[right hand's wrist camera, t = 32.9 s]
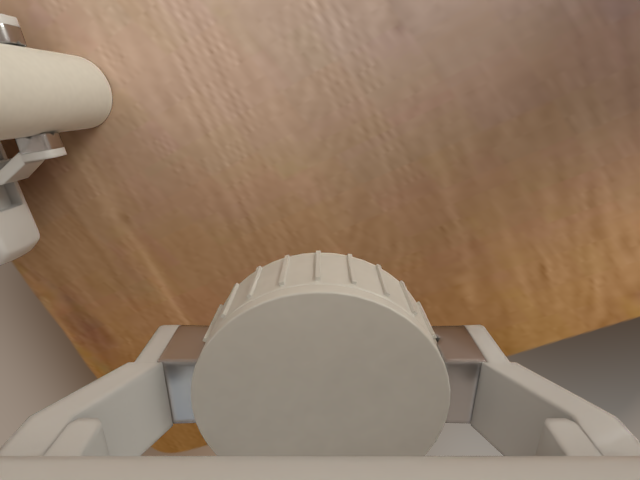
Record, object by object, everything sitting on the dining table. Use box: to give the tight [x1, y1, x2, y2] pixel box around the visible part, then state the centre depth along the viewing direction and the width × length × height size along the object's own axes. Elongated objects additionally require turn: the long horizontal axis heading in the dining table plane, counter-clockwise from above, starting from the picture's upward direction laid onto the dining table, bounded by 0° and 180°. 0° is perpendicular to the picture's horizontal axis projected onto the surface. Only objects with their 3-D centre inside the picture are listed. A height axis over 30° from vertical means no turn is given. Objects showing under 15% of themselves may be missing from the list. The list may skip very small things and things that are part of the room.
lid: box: [191, 251, 450, 456], centre depth 9 cm, size 6×6×2 cm
